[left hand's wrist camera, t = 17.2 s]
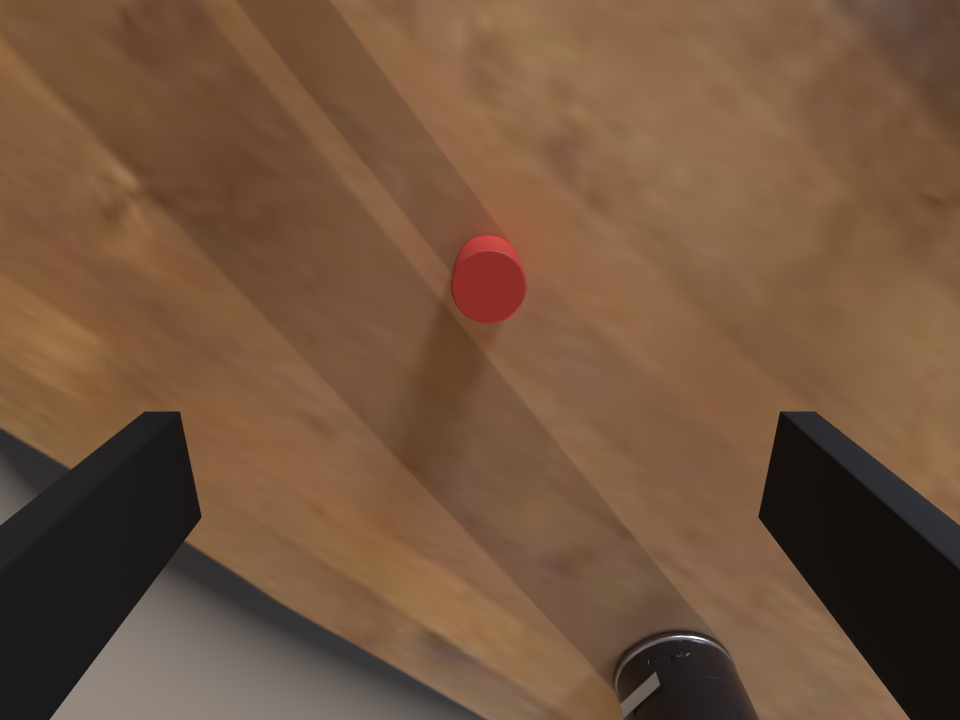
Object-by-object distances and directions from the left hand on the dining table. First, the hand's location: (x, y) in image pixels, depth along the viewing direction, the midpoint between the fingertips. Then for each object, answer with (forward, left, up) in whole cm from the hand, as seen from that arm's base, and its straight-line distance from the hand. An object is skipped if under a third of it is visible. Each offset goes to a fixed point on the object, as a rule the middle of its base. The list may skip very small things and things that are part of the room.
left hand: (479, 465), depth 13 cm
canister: (0, 0, -22) cm, 22 cm away
